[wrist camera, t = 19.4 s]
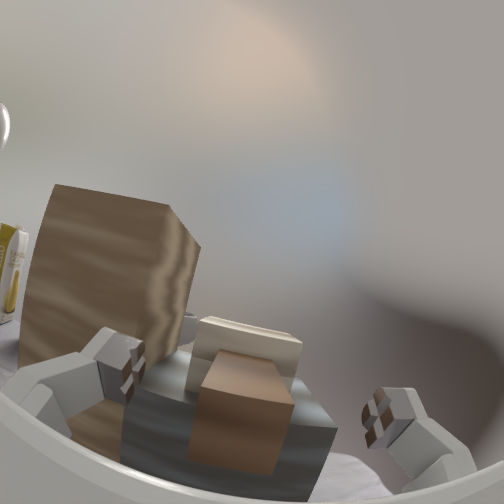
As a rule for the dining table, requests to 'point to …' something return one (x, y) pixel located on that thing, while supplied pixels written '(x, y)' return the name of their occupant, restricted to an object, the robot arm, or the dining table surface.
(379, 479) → the dining table surface
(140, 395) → the step stand
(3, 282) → the juice carton
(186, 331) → the chalice
